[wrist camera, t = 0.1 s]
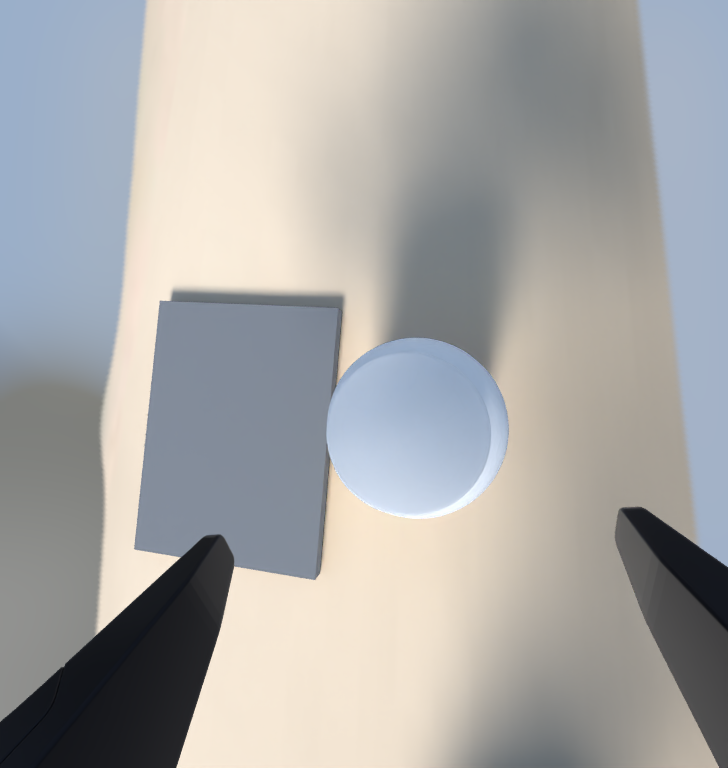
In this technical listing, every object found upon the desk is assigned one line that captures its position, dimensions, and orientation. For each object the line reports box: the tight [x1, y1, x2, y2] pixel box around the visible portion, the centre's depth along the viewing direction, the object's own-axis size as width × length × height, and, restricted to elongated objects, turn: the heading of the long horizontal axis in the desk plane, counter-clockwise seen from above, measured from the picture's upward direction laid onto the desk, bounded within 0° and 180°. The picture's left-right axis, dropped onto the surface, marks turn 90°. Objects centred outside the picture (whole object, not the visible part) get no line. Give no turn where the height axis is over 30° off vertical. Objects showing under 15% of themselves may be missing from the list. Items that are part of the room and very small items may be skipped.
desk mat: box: [134, 301, 342, 580], centre depth 25 cm, size 16×12×1 cm
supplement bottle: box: [326, 338, 509, 519], centre depth 18 cm, size 7×7×13 cm
